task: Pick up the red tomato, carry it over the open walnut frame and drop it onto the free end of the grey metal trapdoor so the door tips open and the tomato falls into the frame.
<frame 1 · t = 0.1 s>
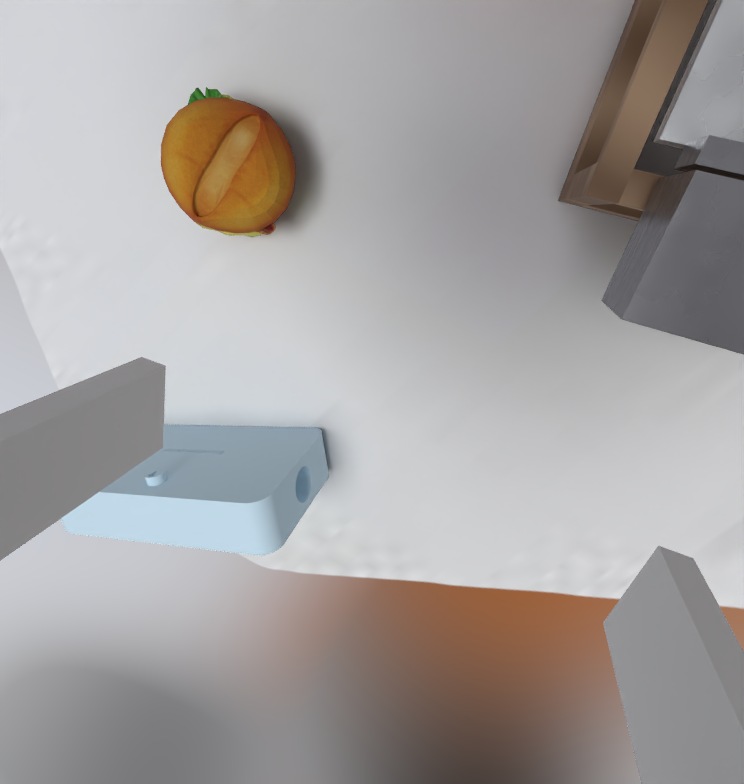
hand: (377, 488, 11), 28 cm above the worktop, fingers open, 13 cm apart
light blue box: (234, 444, 49), on the worktop
cheeseburger: (253, 172, 37), on the worktop
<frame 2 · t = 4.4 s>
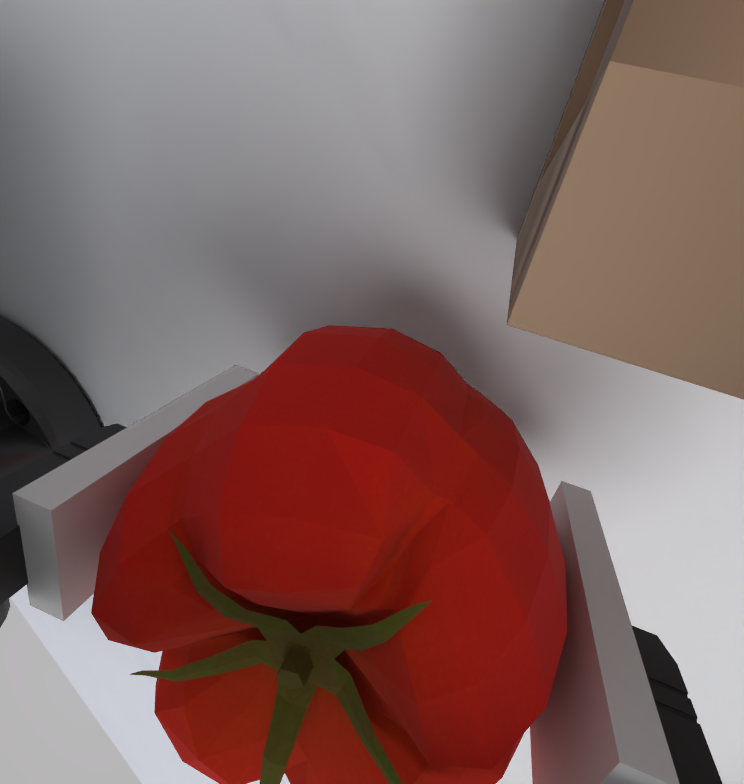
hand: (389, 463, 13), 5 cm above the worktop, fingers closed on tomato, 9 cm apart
tomato: (391, 452, 13), point 4 cm above the worktop, touching gripper
when the fingers open (15 cm above the worktop, at t = 7.1 s): tomato drops 5 cm, resting on trapdoor, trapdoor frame.
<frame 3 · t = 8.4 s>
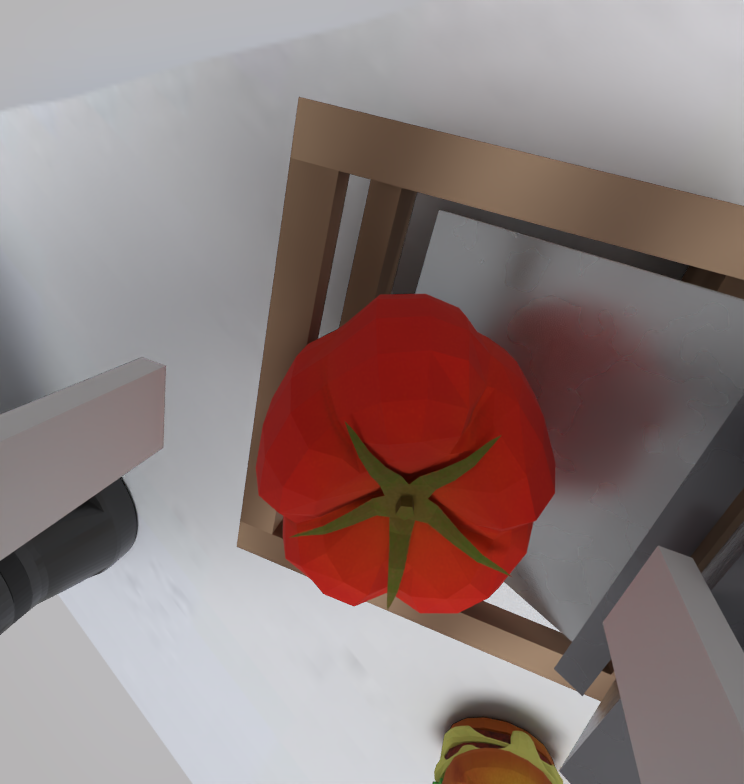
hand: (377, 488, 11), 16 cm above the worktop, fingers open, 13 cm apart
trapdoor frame: (498, 349, 25), on the worktop
tomato: (402, 390, 17), point 10 cm above the worktop, touching trapdoor, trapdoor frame
cheeseburger: (496, 740, 38), on the worktop
trapdoor: (563, 483, 14), point 13 cm above the worktop, hinge at -32.2°, touching gripper, tomato
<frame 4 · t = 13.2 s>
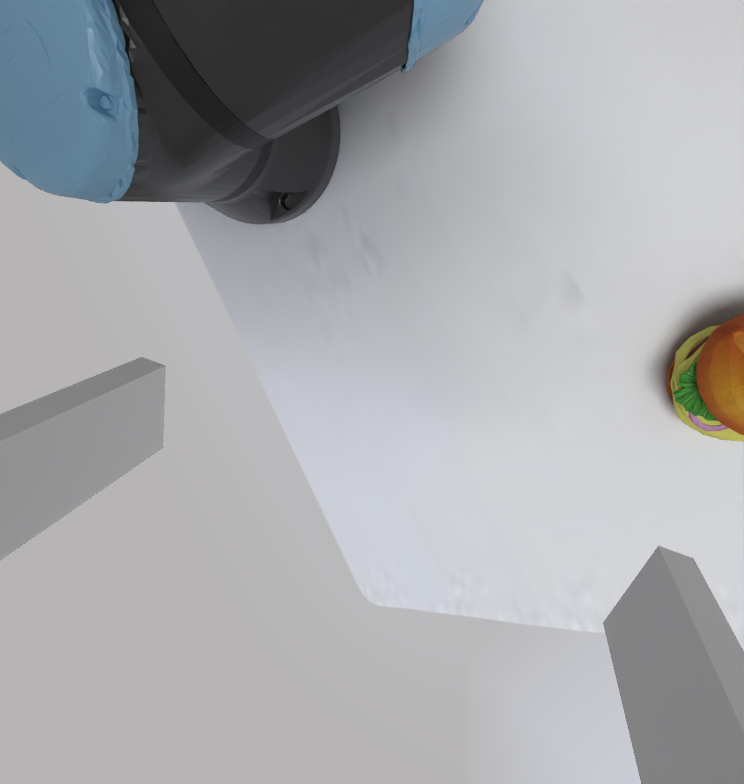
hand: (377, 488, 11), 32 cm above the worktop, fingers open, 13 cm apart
cheeseburger: (726, 365, 36), on the worktop
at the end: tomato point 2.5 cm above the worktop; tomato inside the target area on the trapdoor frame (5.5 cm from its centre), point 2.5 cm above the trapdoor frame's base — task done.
